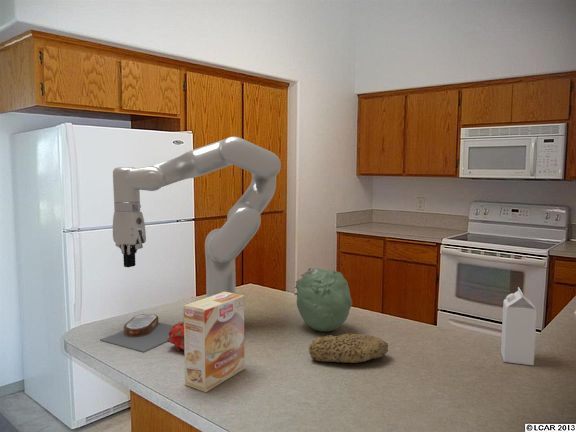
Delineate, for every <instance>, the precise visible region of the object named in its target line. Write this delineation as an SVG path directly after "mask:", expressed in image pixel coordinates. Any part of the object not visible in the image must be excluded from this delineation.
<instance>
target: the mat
mask: <svg viewBox="0 0 576 432" xmlns="http://www.w3.org/2000/svg"><path fill="white" fill-rule="evenodd" d="M158 323H159V324H158V326H157V327H156V328H155V329H154V330H153V331H152V332H151V333H150V334H148V335H145V336H141V337H128V336H125V335H124V330H122V331H121V330H120V331H119V332H116V333H114V334H110V335H108V336H105V337H103V338H101V339H99V341H100V342H103V343H104V342H105V343H108V344H112V345H114V346H119V347H122V348H126V349H129V350H133V351H137V352H141V353H145V352H148V351H150V350H152V349H154V348H157V347H158V346H161V345H163V344H166V343H169V342H168V341H167V339H168V338H169V332H170V330H171V328H172V327H173V326H174V324H169V323H164V322H159V321H158Z"/></svg>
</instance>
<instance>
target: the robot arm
mask: <svg viewBox="0 0 576 432" xmlns="http://www.w3.org/2000/svg"><path fill="white" fill-rule="evenodd" d="M232 165H234V166H236V167H238V168H240V169H242V170H244V171H247V172H249V173H250V174H251V181H250V184H249V186H248V187H247V188H246V190H245V192H244V193H243V194H242V195H241V196H240V197H239V198H238V200H237V201H236V203H234V205H233V206H232V207H231V208H230V209H229V211H228V212H227V216H226V221H225V223H224V224H223V225H222V226H221V227H220V228H214V229H213V230H211V231H210V232H209V233H208V234H207V236H206V237H205V240H204V254H205V255H204V256H205V275H206V276H205V277H206V278H205V281H206V282H205V284H206V286H205V288H206V289H205V291H206V292H205V293H206V297H205V298H207V297H210V296H213V295H216V294H219V293H222V292H230V293H235V294H237V293H236V291H237V289H236V258H237V257H238V256H239V254H240V253H242V251H243V250H244V249H245V248H246V246H247V245H248V244H249V243H250V241H251V240H252V239H253V237H254V236H255V235H256V233H257V232H258V230H259V228H260V227H261V224H262V223H261V221H262V218H261V214H262V213H263V211H264V210H265V209H266V208H267V206H268V204H269V203H271V201H272V199H273V196H274V195H275V192H276V190H277V189H276V188H277V175H278V174H279V173H280V171H281V169H282V168H281V167H282V163H281V160H280V158H279V156H278V155H277V154H276V153H274V152H273V151H270V150H268V149H266V148H263V147H261V146H259V145H257V144H254V143H252V142H251V141H248V140H246V139H243V138H242V137H239V136H234V135H233V136H229V137H226V138H223V139H221V140H219V141H216V142H213V143H209V144H206V145H203V146H200V147H197V148H193V149H191V150H189V151H187V152H185V153H183V154H181V155H179V156H177V157H174V158H171V159H168V160H166V161H163V162H161V163H157V164H154V165H150V166H145V167H133V166H132V167H129V166H124V167H123V166H121V167H120V166H119V167H115V168H113V171H112V183H113V185H112V186H113V202H114V203H113V206H114V209H113V210H114V211H113V215H112V217H113V219H112V240H113V242H114V243H115V246H116V247H117V248H119V249H120V251H121V254H122V255H123V256H122V258H123V267H124V268H132V267H135V266H136V254H137V252H138V250H139V249H140V250H141V249H143V248H144V246H143V244H145V243H146V241H147V238H146V237H147V234H146V232H147V231H146V223H145V218H144V214H143V212H142V211H141V208H142V205H141V198H140V197H141V192H140V191H148V192H155V191H158V190H161V188H163V187H166V186H167V187H168V186H170V185H171V184H174V183H178V182H181V181H184V180H188V179H196V178H198V177H202V176H205V175H209V174H210V173H213V172H215V171H219V170H221V169H225V168H227V167H230V166H232ZM244 320H245V315H244Z"/></svg>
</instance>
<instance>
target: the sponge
mask: <svg viewBox="0 0 576 432" xmlns="http://www.w3.org/2000/svg"><path fill="white" fill-rule="evenodd" d="M388 352H389V343H388V342H386V341H385V340H383V339H382V338H380V337H379V336H378V337H377V336H374V335H373V336H372V335H370V334H369V335H368V334H361V333H360V334H359V333H344V334H339V335H331V334H327V335H325V336H318V337H313V339H312V340H311V343H310V344H309V345H308V353H309V354H310V355H309V356H310V357H311V359H312V360H314V361H317V362H327V363H328V362H329V363H331V362H332V363H333V362H335V363H345V364H346V363H351V364H357V363H364V362H368V361H370V360H374V359H379V358H381V357H382V356H385V355H386V354H387V353H388Z"/></svg>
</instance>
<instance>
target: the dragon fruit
mask: <svg viewBox="0 0 576 432" xmlns="http://www.w3.org/2000/svg"><path fill="white" fill-rule="evenodd" d="M167 341H168V342H167V343H170V344H172V345H174V348H175V349H176V351H177V352H179V351H181V349H182V350H183V351H184V321H179V322H178V323H174V324H173V327H172V328H171V330H170V332H169V338H168V339H167Z"/></svg>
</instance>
